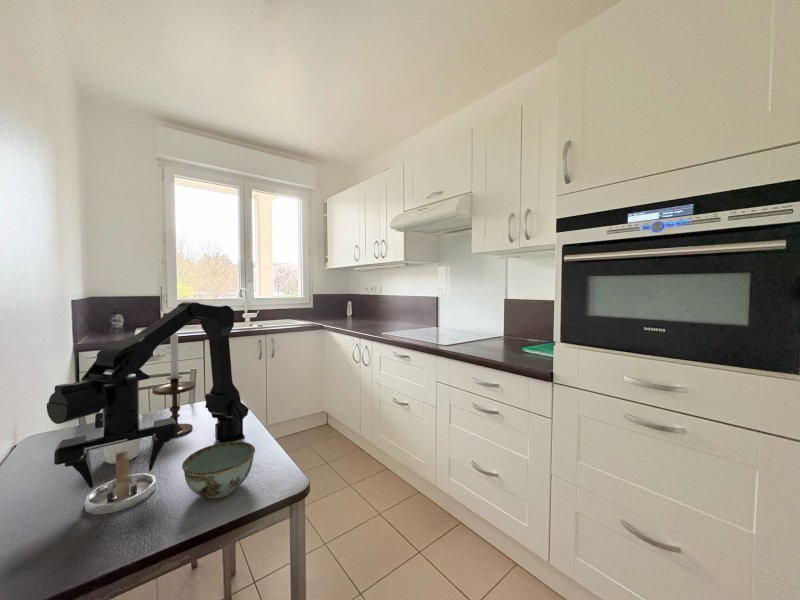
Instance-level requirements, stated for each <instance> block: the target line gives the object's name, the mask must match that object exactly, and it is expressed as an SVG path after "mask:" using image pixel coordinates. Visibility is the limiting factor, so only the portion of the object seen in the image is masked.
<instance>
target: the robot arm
mask: <svg viewBox="0 0 800 600" xmlns="http://www.w3.org/2000/svg"><path fill="white" fill-rule="evenodd" d="M193 320H196V321H199V322H200V326H201V328H202V329H201V330H203V332H204V333H205V334H206V336H207V337H208V342H209V343H208V345H209V357H210V366H211V367H210V368H211V378H212V379H211V380H212V387H211V390H210V391H209V393H205V394H204V395H205V396H204V399H205V409H207V411H208V412H209V413H210V414H211V417H212V419H216V423H215V424H214V437H215V439H216V441H218V444H219V443H225V442H234V441H237V440H241V439H244V438H245V437H246V435H245V434H244V419H245V417H247V416H248V414H249V411H250V410H249V409H250V408H249V407H248V406H247V405H245V404H244V403H243V402H242V400H241V395H240V391H239V390H238V388H237V387H236V386H235V385H234V382H233V374H232V373H233V371H232V361H231V349H230V348H231V347H230V338H229V337H230V334H231V332H232V329H233V328H234V326H235V325H234V323H235V311H234V309H233V308H232V307H231V306H230V305H226V304H225V305H222V304H221V305H219V304H218V305H216V304H214V305H213V304H203V303H199V302H196V301H183V302H181V303H179V304H177V306H176V307H175V308H173V309H172V310H170V311H169V312H168V313H166V314H164V315H163V316H162V317H160V318H159V319H157V320H156V321H154V322H153V323H151V324H150V325H148V326H147V327H145V328H144V329H143V330H141V331H139V332H138V333H136V334H134V335H131V336H129V337H125V338H122V339H120V340H117V341H114V342H113V343H111V344H108V345H107V346H104V347H103V348H101V350H99V351H98V352H97V353H96V359H95V361H94V362H93V363H92V365H91V366H90V367H89V369H88V370H87V371H86V372H85V374H84V375H83V376H82V378H81V379H80V380H81V381H78V382H73V383H62V384H58V385H54V392H53V393H52V394H51V395H50V396H49V397H48V402H47V403H46V411H47V416H48V417H49V419H50V421H51V422H52V423H53V424H56V425H59V424H60V425H61V424H64V423H67V422H71V421H73V420H78V419H81V418H83V417H88V416H91V415H95V417H94V428H95V429H96V430H98V429H102V428H103V430H102V436H101V437H97V438H92V439H89V440H88V439H87V435H86V434H85V435H80V436H75V437H71V438H70V437H69V438H67V439H62V440H61V441H60V442H58V444H57V446H56V449H55V451H54V456H53V457H54V459H53V460H54V463H53V464H54V465H56V466H57V465H58V466H59V465H62V464H64V467H65V468H66V467H67V468H68V467H72V468H74V469H75V471H77V472H78V473H79V474H80V475H81V477H82V478H83V480H84V481H85V483H86V484H87V485H88V488H89V489H93V488H94V474H93V469H92V464H91V460H90V459H91V458H90V450H95V449H100V448H104V447H105V446H109V445H113V444H118V443H122V442H126V441H131V440H135V439H139V438H141V439H142V438H148V437H151V440H150V441H151V443H150V451H149V456H148V457H149V459H148V472H152V470H153V468H154V465H155V463H156V460H157V458H158V455H159V453H160V451H161V450H162V449H163V447H164V444H165V443H168V442H171V439H170V438H171V437H175V436H176V435H177V424H176V421H175V419H173V418H172V417H171V418H170V417H167V418H163V419H158V420H154V421H153V425H152V426H147V427H143V428H142V429H139V414H140V396H139V395H140V393H139V391H140V388H139V385H140V384H139V382H140V381H145V380H148V379H150V378H151V376H150V375H149V374H147V373H146V372H144V371H142V369H141V368H142V367H143V366H144V365H146V363H147V362H149V360H150V359H151V358H152V356H153V354H154V351H155V350H156V349H157V348H158V347H159V346H160V345H161V344H163V343H164V342H166V341H167V340H168V339H170V337H171V336H172V335H173V334H175V333H176V334H177V332H179V331H180V330H182V329H183V328H184V327H185V326H187V325H188V324H189V323H190V322H191V321H193ZM109 373H110V374H109ZM101 411H102V412H101Z"/></svg>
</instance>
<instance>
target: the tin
mask: <svg viewBox="0 0 800 600" xmlns="http://www.w3.org/2000/svg"><path fill="white" fill-rule="evenodd" d="M156 489H157V480H156V475H154V474H151V473H147V472H145V473H133V474H129V496H127V497H124V498H121V499H118V500H116V478H115V479H112V480H110V481H107V482H105V483H104V484H101V485H99V486H97V487H96V488H95V489H93V490H92V491H91V492H90V493H89V494H86V498H85V502H84V505H85V506H84V511H85V512H86V513H88V514H92V515H104V514H105V515H106V514H113V513H115V512H119V511H122V510H125V509H126V508H130V507H133V506H135V505H136V504H138V503H140V502H142V501H144V500H145V499H147V498H149V497H150V495H152V493H153V492H155V490H156Z"/></svg>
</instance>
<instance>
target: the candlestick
mask: <svg viewBox="0 0 800 600" xmlns="http://www.w3.org/2000/svg"><path fill="white" fill-rule="evenodd" d="M169 339H170V377H167V378H166V380H169V381H170V382H167V383H163V384H160V385H156V386H154V387H153V388H152V390H151V391H152V395H155V396H171V406H170V407H169V412H170V413H171V415H169V416H170V417H169V418H171V417H172V418H173V419H175V421H176V424H177V435H176V436H175V437H171V438H170V440H171V439H176V438H177V439H178V438H180V437H183V436H187V435H188V434H190V433H191V432H192V431H193V428H194V427H193V424H190V423H179V421H178V420H179V417H180V416H181V414H179V411H180V410H181V406H180V405H178V395H179V394H182V393H186V392H190V391H192V390H194V389H196V385H197V383H196V382H195V381H187V380H185V381H184V380H183V381H180V379H182V378H183V376H182V375H179V334H178V333H177V332H176V333H175V334H173V335H172V336H171V337H169Z"/></svg>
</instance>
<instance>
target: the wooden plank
mask: <svg viewBox="0 0 800 600" xmlns="http://www.w3.org/2000/svg"><path fill="white" fill-rule="evenodd" d="M129 475H130V460H129V453H128V451H126V452H122V453H118V454H116V463H115V479H116V500H118V499H121V498H124V497H127V496H129Z"/></svg>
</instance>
